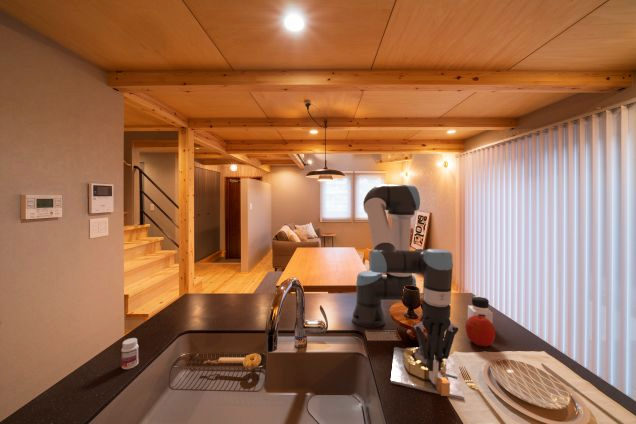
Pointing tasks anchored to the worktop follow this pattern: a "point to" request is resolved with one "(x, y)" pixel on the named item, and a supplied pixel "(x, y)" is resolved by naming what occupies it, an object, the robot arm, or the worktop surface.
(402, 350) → the flange plate
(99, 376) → the worktop surface
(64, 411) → the worktop surface
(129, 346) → the pill bottle
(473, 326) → the apple
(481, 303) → the container
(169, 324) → the worktop surface
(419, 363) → the yellow piece
